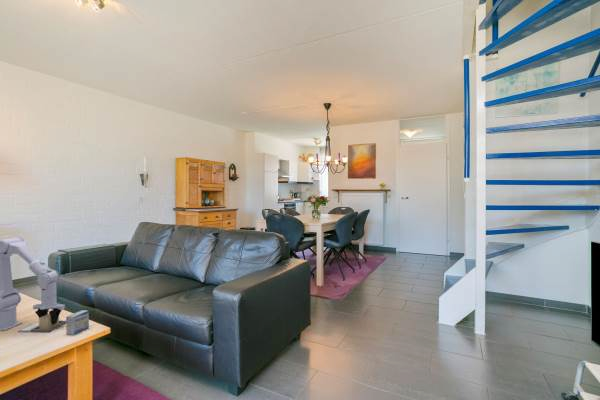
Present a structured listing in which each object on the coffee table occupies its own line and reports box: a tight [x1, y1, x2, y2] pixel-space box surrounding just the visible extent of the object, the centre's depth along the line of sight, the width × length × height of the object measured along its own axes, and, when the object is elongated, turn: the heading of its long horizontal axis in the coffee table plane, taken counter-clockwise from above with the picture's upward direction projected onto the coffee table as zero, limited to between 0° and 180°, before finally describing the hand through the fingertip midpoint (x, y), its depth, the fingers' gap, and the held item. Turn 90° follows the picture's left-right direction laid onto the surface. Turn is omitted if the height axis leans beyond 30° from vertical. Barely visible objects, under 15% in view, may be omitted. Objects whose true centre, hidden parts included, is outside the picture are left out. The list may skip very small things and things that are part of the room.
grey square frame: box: [30, 320, 66, 333], centre depth 143 cm, size 9×10×1 cm
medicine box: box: [65, 309, 90, 336], centre depth 139 cm, size 8×4×9 cm, turn 168°
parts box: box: [38, 313, 60, 329], centre depth 143 cm, size 4×6×6 cm
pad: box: [17, 321, 39, 333], centre depth 143 cm, size 6×10×1 cm, turn 178°
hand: (49, 323), depth 143 cm, fingers closed on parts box, 4 cm apart
